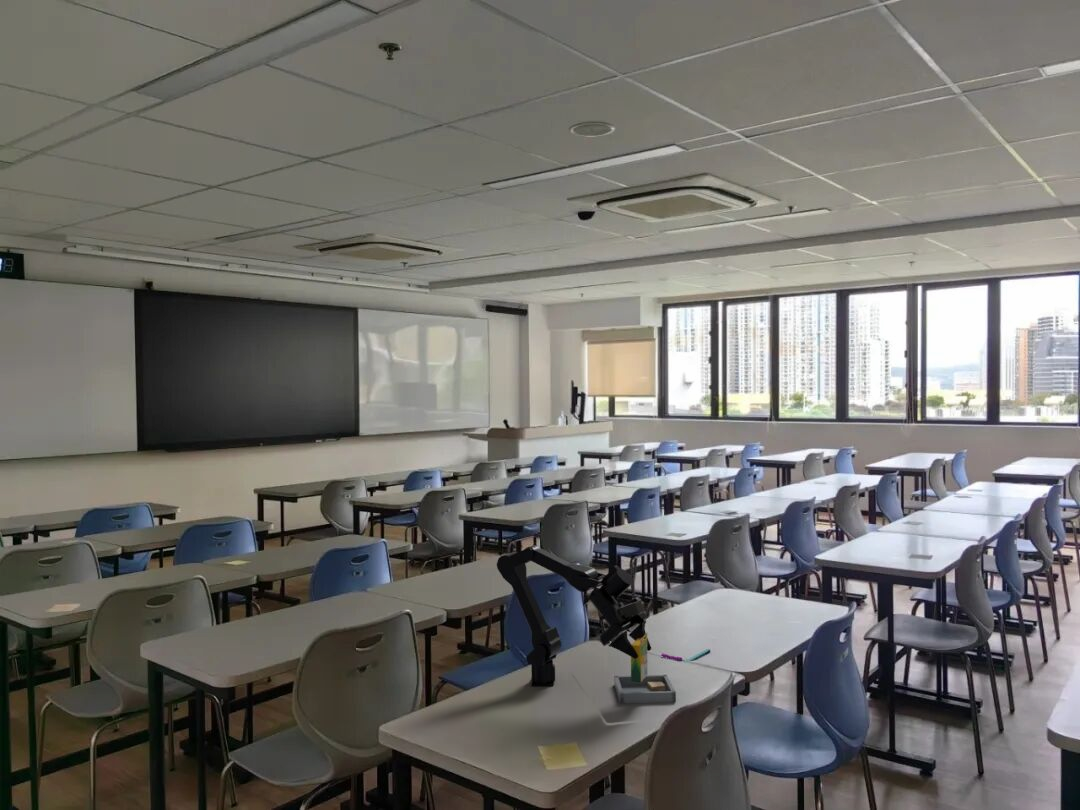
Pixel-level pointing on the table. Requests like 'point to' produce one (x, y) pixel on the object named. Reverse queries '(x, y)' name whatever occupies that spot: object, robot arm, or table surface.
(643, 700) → the tray
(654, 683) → the wood tile
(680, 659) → the bent bar
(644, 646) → the crayon box
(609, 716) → the table surface
